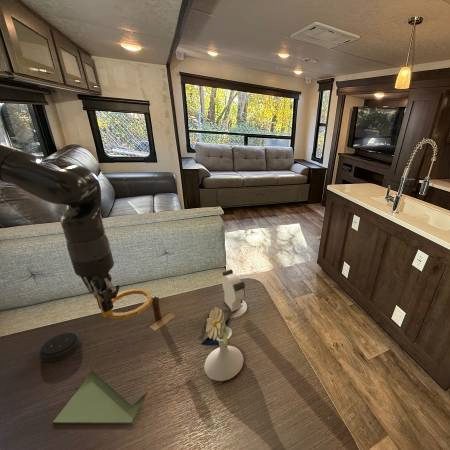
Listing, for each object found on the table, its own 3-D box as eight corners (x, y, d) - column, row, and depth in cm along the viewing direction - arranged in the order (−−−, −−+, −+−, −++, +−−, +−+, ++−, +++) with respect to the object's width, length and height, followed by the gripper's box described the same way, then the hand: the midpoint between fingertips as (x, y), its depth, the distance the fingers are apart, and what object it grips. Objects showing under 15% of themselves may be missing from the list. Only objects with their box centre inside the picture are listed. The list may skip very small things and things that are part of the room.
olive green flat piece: (53, 423, 59) (52, 422, 59) (92, 371, 71) (92, 370, 70) (131, 423, 60) (131, 422, 60) (157, 372, 72) (157, 371, 72)
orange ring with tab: (92, 310, 68) (85, 288, 65) (136, 287, 78) (132, 266, 75) (117, 327, 63) (111, 304, 60) (160, 300, 74) (157, 279, 71)
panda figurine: (253, 311, 97) (254, 280, 92) (225, 323, 90) (225, 290, 85) (238, 295, 106) (239, 265, 100) (213, 305, 99) (211, 273, 93)
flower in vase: (206, 353, 79) (201, 290, 69) (242, 347, 82) (242, 287, 72) (202, 394, 68) (194, 326, 58) (244, 386, 71) (244, 320, 61)
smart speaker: (40, 351, 75) (36, 342, 73) (79, 335, 81) (75, 326, 79) (44, 371, 69) (39, 362, 68) (84, 352, 76) (81, 343, 74)
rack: (140, 324, 87) (135, 299, 83) (161, 310, 94) (157, 286, 89) (155, 334, 84) (150, 308, 80) (176, 319, 91) (172, 294, 86)
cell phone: (230, 314, 95) (230, 313, 95) (222, 345, 82) (222, 343, 82) (211, 314, 94) (211, 312, 94) (200, 345, 82) (199, 343, 81)
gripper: (56, 250, 58) (76, 307, 65) (88, 268, 53) (106, 328, 60) (92, 238, 64) (107, 292, 71) (124, 254, 59) (137, 310, 66)
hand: (106, 308), depth 65 cm, fingers closed on orange ring with tab, 1 cm apart
